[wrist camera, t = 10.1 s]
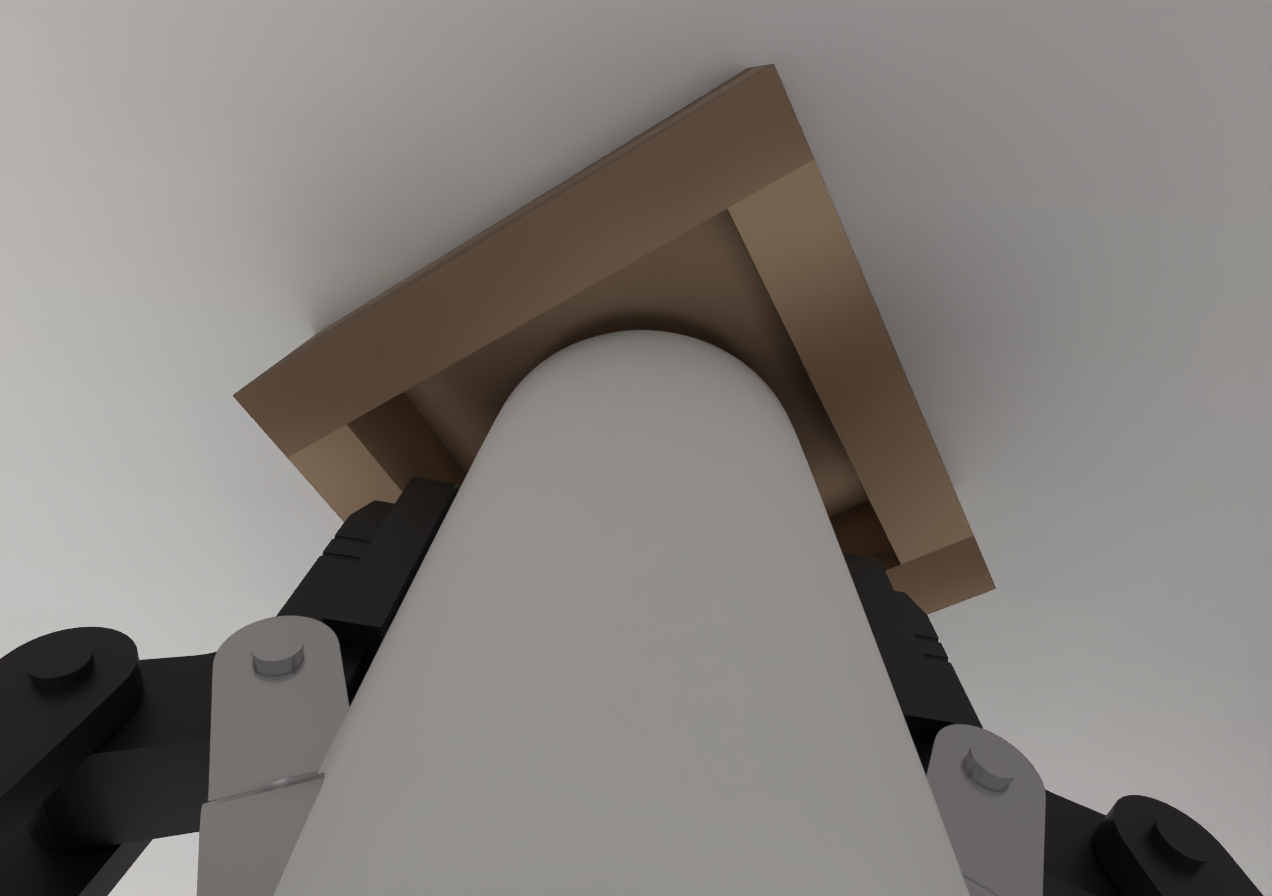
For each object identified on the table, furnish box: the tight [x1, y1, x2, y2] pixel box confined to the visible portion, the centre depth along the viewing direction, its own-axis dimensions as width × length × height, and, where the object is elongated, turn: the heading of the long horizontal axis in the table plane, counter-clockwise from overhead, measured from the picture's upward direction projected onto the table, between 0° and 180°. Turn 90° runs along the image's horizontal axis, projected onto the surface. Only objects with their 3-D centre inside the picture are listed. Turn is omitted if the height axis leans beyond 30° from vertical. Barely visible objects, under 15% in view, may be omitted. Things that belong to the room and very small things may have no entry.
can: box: [274, 330, 970, 896], centre depth 10 cm, size 6×6×12 cm
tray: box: [233, 64, 996, 614], centre depth 16 cm, size 11×11×4 cm
